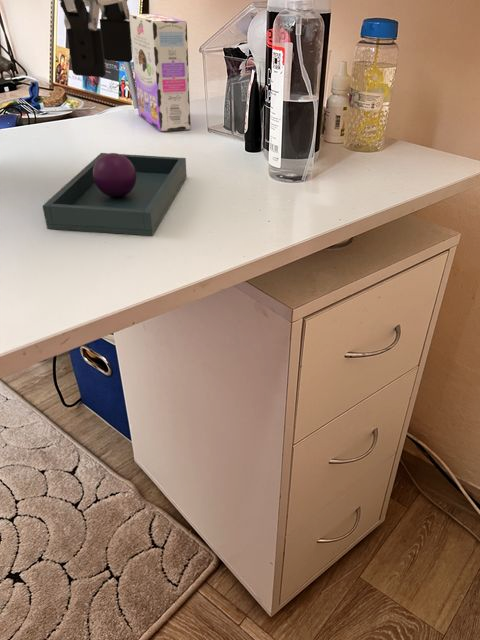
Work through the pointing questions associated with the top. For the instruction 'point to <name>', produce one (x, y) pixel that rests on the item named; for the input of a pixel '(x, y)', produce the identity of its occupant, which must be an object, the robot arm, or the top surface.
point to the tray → (118, 199)
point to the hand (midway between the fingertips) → (104, 67)
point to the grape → (114, 175)
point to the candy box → (161, 70)
